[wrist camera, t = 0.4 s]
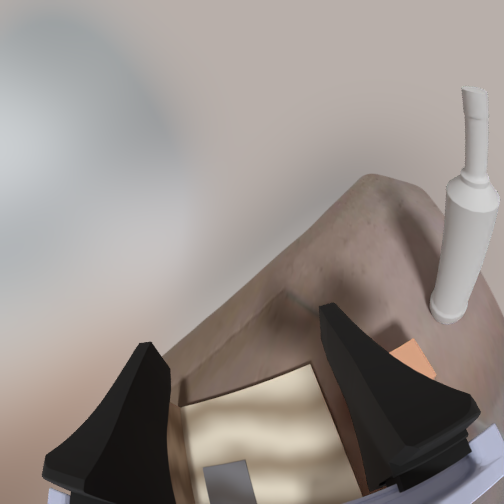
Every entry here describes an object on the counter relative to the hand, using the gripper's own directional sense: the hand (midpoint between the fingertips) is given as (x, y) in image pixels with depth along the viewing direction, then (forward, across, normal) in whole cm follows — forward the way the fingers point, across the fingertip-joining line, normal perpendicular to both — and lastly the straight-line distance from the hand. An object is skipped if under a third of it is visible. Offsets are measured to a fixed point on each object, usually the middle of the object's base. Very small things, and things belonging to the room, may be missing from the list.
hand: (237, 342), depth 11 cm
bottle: (+9, -22, +15) cm, 29 cm away
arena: (0, +3, +21) cm, 22 cm away
